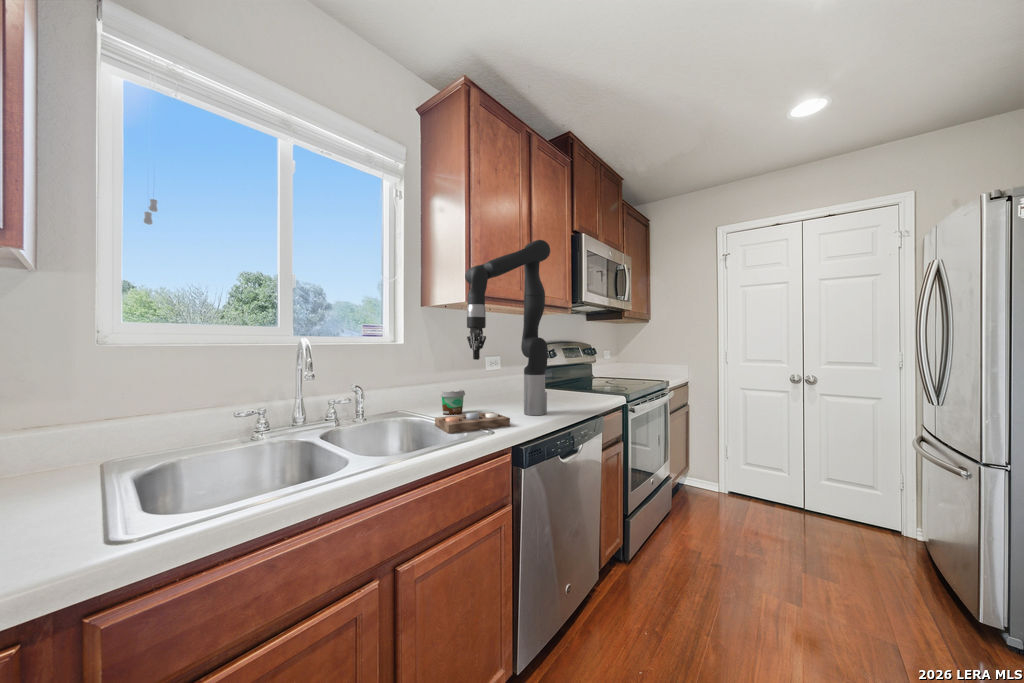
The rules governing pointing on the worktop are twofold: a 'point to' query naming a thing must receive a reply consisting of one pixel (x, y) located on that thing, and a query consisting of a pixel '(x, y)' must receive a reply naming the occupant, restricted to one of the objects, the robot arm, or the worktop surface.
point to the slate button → (472, 416)
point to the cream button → (491, 415)
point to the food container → (452, 402)
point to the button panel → (471, 423)
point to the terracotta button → (451, 419)
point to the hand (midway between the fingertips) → (476, 359)
